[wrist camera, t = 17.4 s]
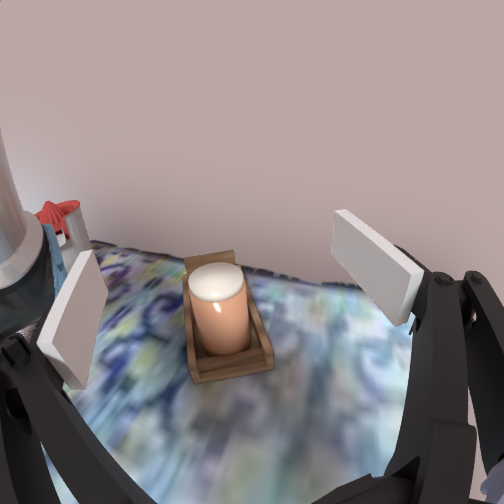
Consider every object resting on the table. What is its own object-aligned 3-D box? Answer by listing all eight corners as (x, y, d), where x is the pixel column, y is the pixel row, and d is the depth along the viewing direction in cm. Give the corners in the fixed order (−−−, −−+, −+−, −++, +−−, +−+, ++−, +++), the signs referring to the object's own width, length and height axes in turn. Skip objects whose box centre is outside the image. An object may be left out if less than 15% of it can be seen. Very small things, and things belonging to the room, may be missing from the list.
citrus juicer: (49, 306, 49) (14, 224, 39) (45, 274, 61) (21, 206, 51) (107, 280, 57) (81, 196, 47) (93, 253, 69) (73, 184, 59)
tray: (273, 368, 36) (273, 334, 33) (194, 384, 34) (182, 351, 31) (241, 280, 55) (238, 248, 51) (185, 289, 53) (178, 258, 50)
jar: (195, 355, 38) (176, 290, 32) (214, 323, 43) (201, 258, 37) (242, 367, 36) (232, 299, 30) (256, 331, 41) (252, 264, 35)
